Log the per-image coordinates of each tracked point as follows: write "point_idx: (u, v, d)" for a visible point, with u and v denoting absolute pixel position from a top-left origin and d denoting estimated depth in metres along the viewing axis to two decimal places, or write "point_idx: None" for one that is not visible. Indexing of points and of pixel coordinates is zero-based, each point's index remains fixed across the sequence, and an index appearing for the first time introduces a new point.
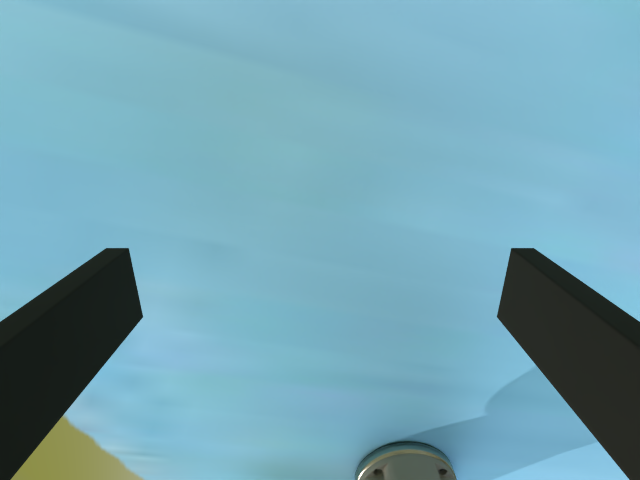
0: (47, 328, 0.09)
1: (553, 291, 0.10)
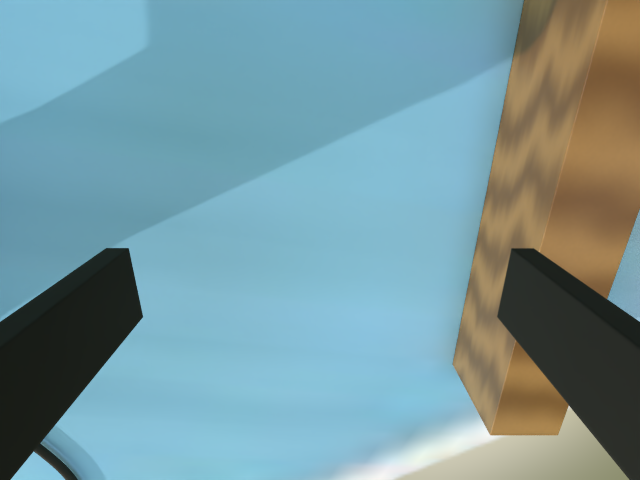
0: (47, 328, 0.09)
1: (553, 291, 0.10)
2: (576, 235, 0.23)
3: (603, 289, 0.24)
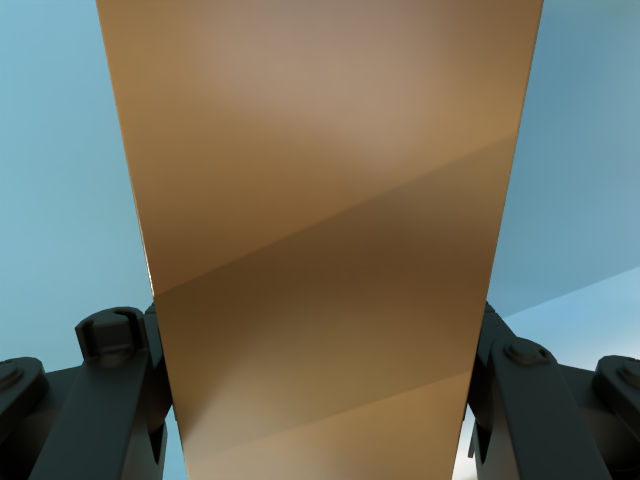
0: None
1: None
2: None
3: None
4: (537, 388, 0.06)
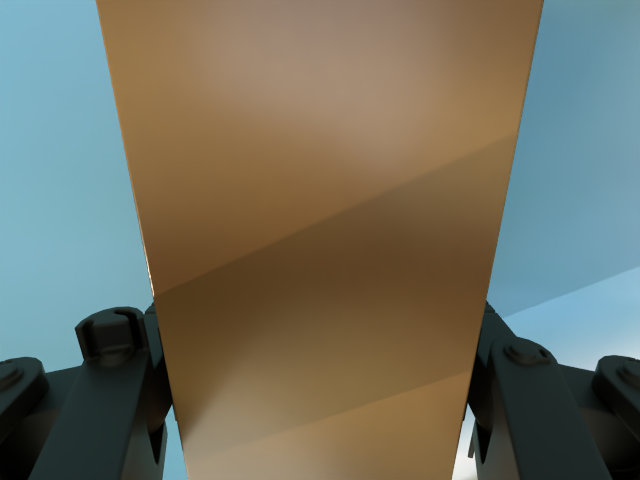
0: None
1: None
2: None
3: None
4: (538, 388, 0.06)
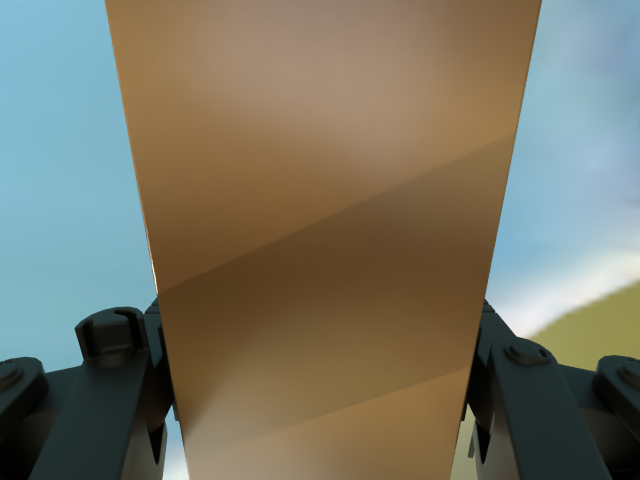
0: None
1: None
2: None
3: None
4: (538, 388, 0.06)
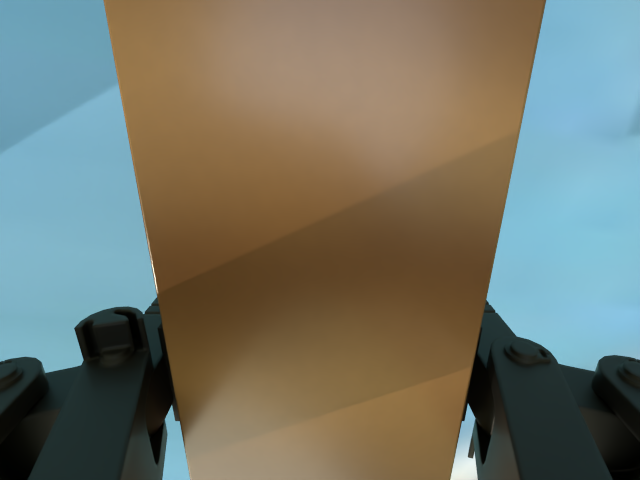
0: None
1: None
2: None
3: None
4: (538, 388, 0.06)
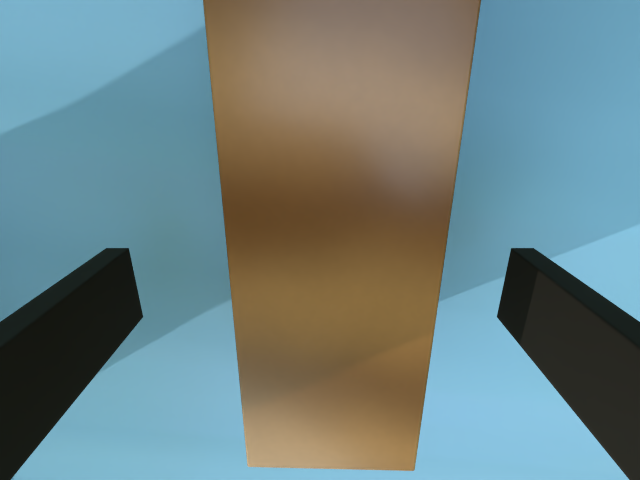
0: (47, 328, 0.09)
1: (553, 291, 0.10)
2: None
3: None
4: None
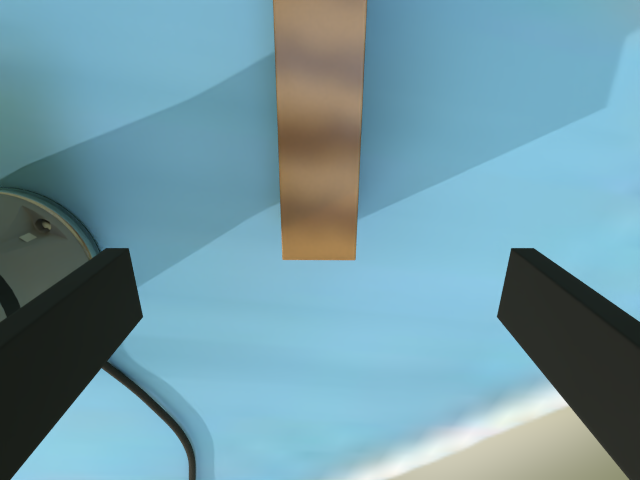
0: (47, 328, 0.09)
1: (553, 291, 0.10)
2: None
3: (355, 65, 0.23)
4: None
